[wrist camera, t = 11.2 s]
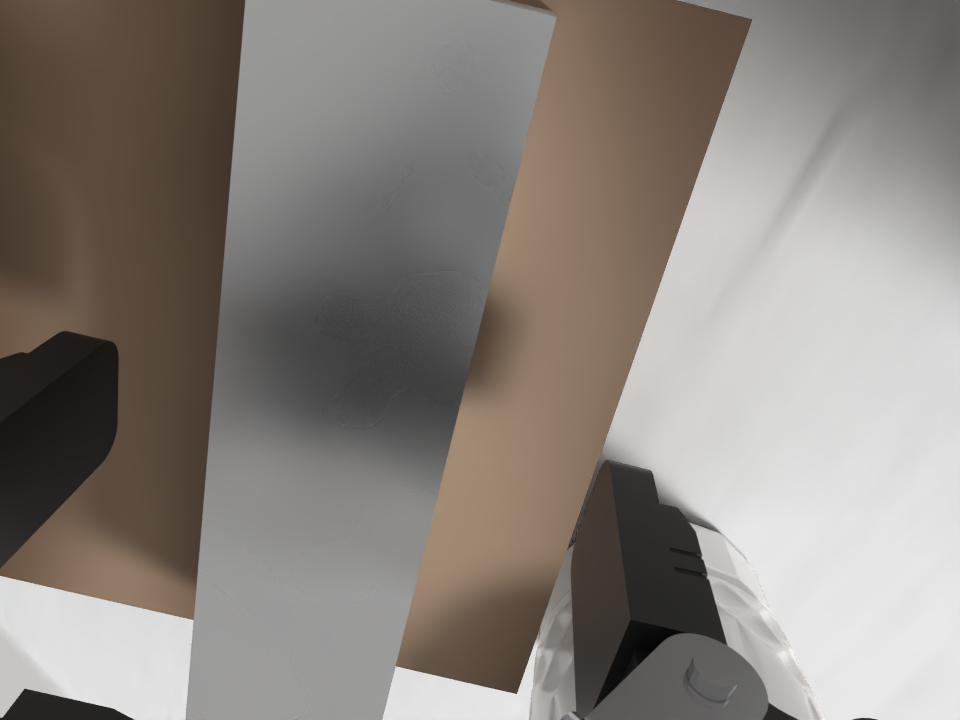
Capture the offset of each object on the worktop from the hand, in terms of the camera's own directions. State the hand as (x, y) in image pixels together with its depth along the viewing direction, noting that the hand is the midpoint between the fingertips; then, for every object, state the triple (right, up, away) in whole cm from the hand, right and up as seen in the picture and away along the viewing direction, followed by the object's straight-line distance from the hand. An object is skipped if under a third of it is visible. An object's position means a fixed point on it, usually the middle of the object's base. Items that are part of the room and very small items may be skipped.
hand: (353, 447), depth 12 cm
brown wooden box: (-1, +4, +8) cm, 9 cm away
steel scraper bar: (0, +1, +2) cm, 3 cm away
